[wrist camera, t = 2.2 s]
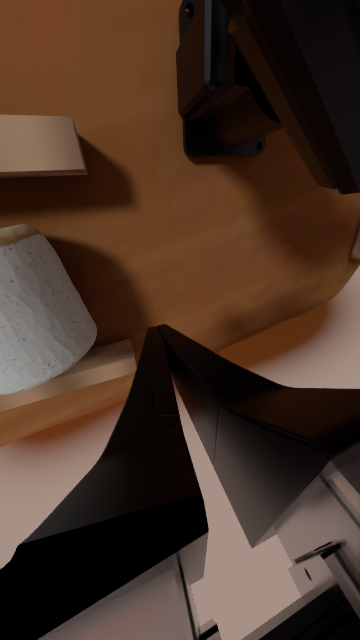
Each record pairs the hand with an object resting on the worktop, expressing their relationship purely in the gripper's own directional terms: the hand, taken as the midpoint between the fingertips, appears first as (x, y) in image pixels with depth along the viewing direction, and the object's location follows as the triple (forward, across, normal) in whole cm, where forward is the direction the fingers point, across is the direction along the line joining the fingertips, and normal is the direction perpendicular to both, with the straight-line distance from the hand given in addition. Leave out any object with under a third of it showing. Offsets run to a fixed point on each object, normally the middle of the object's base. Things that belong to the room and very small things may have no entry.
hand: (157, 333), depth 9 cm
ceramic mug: (+10, +9, 0) cm, 14 cm away
